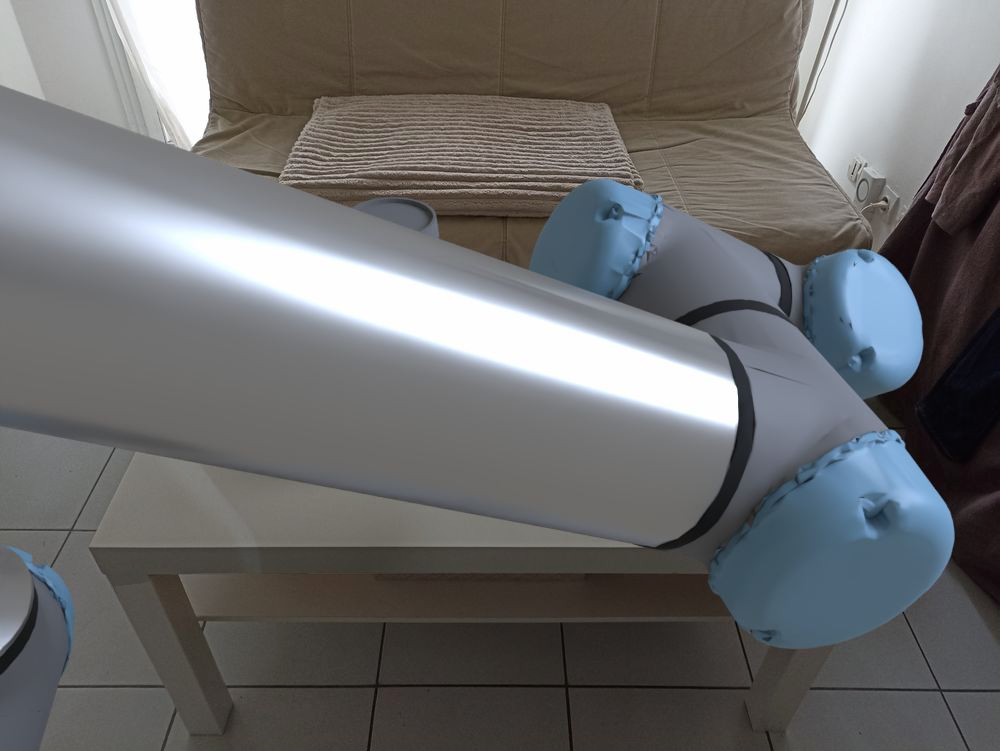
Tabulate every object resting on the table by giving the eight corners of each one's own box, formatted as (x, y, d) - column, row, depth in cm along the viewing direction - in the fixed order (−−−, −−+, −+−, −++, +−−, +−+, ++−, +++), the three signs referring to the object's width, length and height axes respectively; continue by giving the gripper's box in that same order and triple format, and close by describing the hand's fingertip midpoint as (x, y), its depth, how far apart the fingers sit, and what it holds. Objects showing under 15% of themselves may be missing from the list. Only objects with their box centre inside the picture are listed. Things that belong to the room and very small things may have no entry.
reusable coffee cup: (404, 281, 114) (398, 188, 105) (460, 314, 107) (458, 218, 98) (335, 312, 107) (321, 215, 98) (389, 350, 100) (380, 250, 91)
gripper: (637, 482, 46) (464, 512, 66) (754, 392, 53) (566, 443, 73) (580, 373, 46) (424, 436, 66) (705, 298, 53) (530, 375, 73)
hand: (499, 440), depth 69 cm, fingers closed
